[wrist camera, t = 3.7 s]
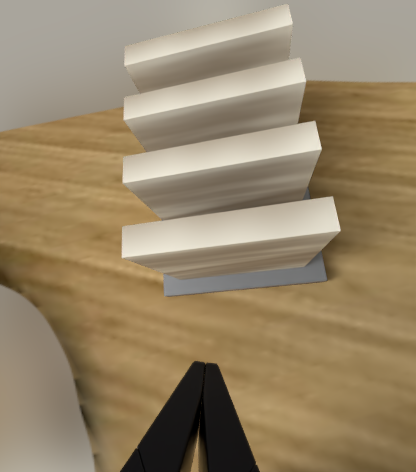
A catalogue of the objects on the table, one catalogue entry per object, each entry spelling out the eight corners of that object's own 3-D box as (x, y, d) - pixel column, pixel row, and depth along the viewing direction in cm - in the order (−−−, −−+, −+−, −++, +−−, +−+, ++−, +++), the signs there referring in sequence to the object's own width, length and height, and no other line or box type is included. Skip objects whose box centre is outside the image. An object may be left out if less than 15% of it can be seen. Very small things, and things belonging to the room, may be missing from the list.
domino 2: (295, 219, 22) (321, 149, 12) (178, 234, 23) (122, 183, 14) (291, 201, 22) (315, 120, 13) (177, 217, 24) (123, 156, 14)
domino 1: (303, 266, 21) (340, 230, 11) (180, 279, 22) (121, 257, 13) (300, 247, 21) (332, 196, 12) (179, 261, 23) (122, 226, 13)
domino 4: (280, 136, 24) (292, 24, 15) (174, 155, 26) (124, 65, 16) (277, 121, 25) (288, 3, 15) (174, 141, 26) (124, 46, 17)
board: (324, 281, 21) (327, 280, 20) (168, 296, 23) (164, 296, 22) (290, 115, 26) (291, 108, 25) (162, 140, 28) (159, 134, 27)
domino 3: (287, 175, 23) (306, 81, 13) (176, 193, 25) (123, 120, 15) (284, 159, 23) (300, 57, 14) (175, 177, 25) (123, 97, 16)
